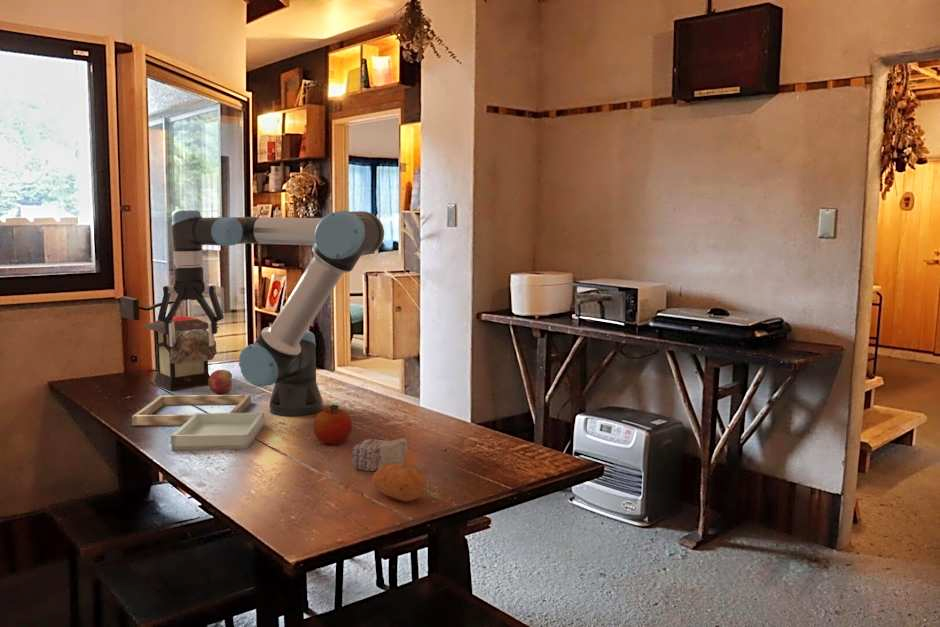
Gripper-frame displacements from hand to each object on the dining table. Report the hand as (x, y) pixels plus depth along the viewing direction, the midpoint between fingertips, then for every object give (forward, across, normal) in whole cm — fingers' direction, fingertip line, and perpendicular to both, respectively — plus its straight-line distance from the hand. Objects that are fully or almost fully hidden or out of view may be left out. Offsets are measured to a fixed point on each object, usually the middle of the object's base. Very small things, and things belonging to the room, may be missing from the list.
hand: (192, 345), depth 220 cm
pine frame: (+20, 0, 0) cm, 20 cm away
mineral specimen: (+20, -54, +49) cm, 76 cm away
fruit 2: (+20, -42, +30) cm, 55 cm away
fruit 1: (+20, -2, -22) cm, 30 cm away
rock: (+4, -1, 0) cm, 4 cm away
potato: (+20, -59, +69) cm, 93 cm away
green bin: (+20, -13, +24) cm, 33 cm away
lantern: (+20, +17, -35) cm, 44 cm away
